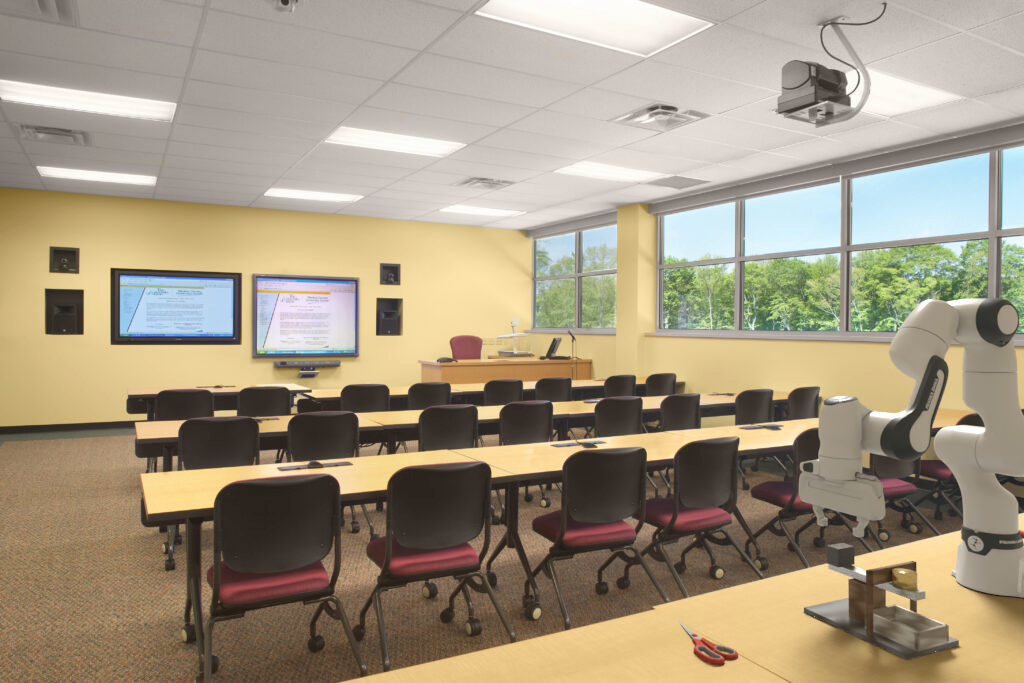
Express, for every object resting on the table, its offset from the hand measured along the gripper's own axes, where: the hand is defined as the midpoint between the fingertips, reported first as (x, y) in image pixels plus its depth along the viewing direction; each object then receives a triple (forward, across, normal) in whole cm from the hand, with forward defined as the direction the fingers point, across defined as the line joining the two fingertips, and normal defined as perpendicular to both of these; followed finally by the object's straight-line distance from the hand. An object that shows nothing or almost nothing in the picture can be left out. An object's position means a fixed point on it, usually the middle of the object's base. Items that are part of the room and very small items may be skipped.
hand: (839, 530), depth 147 cm
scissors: (+20, +2, +38) cm, 43 cm away
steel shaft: (+9, -8, 0) cm, 12 cm away
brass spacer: (+7, -15, 0) cm, 17 cm away
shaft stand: (+18, -9, 0) cm, 20 cm away
